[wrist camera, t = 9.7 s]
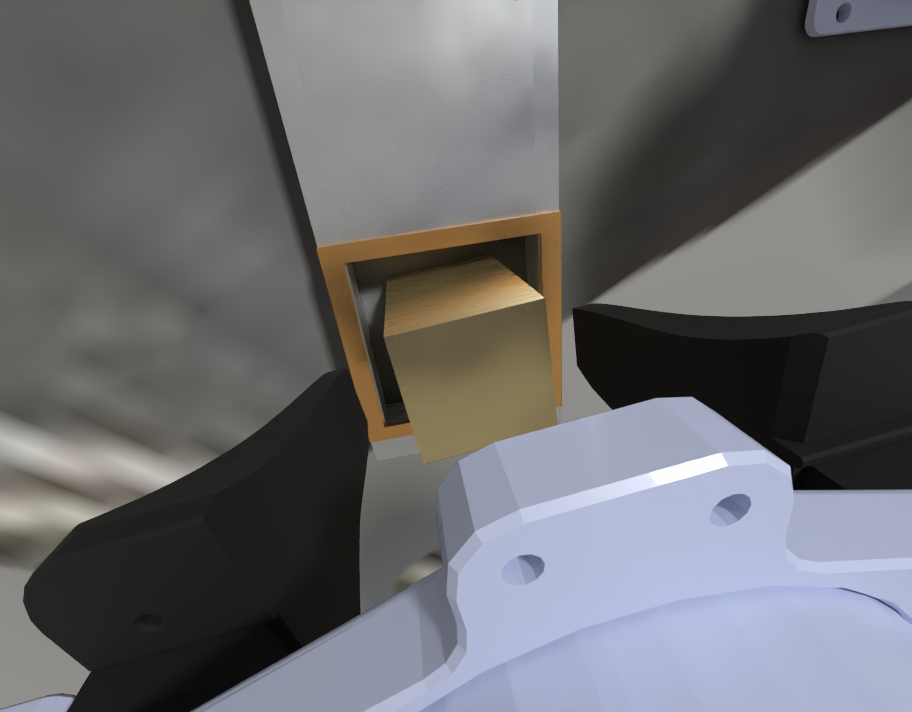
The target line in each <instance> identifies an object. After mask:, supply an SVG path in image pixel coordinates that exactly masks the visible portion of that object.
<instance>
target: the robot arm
mask: <svg viewBox="0 0 912 712" xmlns="http://www.w3.org/2000/svg"><path fill="white" fill-rule="evenodd" d="M837 11H839V16H838V19H837V20H836V13H837ZM905 26H912V0H809V5H808V10H807V14H806V19H805V30H806V33H807V34H808V35H809V36H811V37H821V36H829V35H838V34H846V33H855V32H863V31H872V30H880V29H888V28H897V27H905ZM573 321H574V333H575V345H576V356H577V366H578V367H579V369H580V371H581V372H582V374H583V375H584V377H585V378H586V380H587V381H588V383H589V384H590V385H591V387H592V388H593V389H594V390H595V391H596V393H597V394H598V395H599V396H600V397H601V398H602V399H603V400H604V401H605V402H606V403H607V405H608V406H609V407H610V408H612V410H611V411H607V412H604V413H600V414H596V415H593V416H589V417H585V418H582V419H578V420H574V421H571V422H567V423H563V424H560V425H556V426H552V427H549V428H545V429H541V430H538V431H534V432H530V433H527V434H523V435H519V436H516V437H512V438H508V439H505V440H501V441H497V442H494V443H492V444H490V445H488V446H486V447H484V448H482V449H480V450H478V451H476V452H475V453H473V454H471V455H469V456H467V457H465V458H463V459H461V460H459V461H458V462H457V463H456V465H455V466H454V467H453V469H452V470H451V471H450V473H449V474H448V475H447V477H446V478H445V480H444V481H443V482H442V483H441V485H440V486H439V487H438V491H437V525H438V533H439V540H440V548H441V556H442V564H443V567H442V568H440V569H439V570H437V571H435V572H433V573H432V574H430V575H428V576H426V577H425V578H423V579H421V580H419V581H418V582H416V583H414V584H412V585H411V586H409V587H407V588H405V589H404V590H402V591H400V592H398V593H397V594H395V595H393V596H391V597H390V598H388V599H386V600H384V601H383V602H381V603H379V604H378V605H376V606H374V607H372V608H370V609H369V610H367V611H365V612H363V613H362V614H360V573H359V538H360V512H361V503H362V496H363V489H364V481H365V473H366V465H367V457H368V448H369V445H368V421H367V418H366V416H365V413H364V411H363V408H362V406H361V403H360V401H359V398H358V395H357V393H356V390H355V388H354V385H353V383H352V380H351V378H350V375H349V372H348V370H347V368H343V369H339V370H335V371H331V372H328V373H326V374H324V375H323V376H321V377H320V378H319V379H318V380H316V381H315V382H314V383H313V384H312V385H311V386H310V387H309V388H307V389H306V390H305V391H304V392H303V393H302V394H301V395H300V396H299V397H298V398H296V399H295V400H294V401H293V402H292V403H291V404H290V405H289V406H287V407H286V408H285V409H284V410H283V411H282V412H280V413H279V414H278V415H277V416H276V417H274V418H273V419H272V420H271V421H270V422H268V423H267V424H266V425H265V426H263V427H262V428H261V429H260V430H258V431H257V432H255V433H254V434H253V435H251V436H250V437H248V438H247V439H246V440H244V441H243V442H241V443H240V444H238V445H237V446H235V447H234V448H232V449H231V450H229V451H227V452H226V453H224V454H222V455H221V456H219V457H217V458H216V459H214V460H212V461H211V462H209V463H207V464H206V465H204V466H202V467H201V468H199V469H197V470H195V471H194V472H192V473H190V474H188V475H186V476H184V477H182V478H180V479H178V480H177V481H175V482H173V483H171V484H169V485H166V486H164V487H162V488H160V489H158V490H156V491H154V492H152V493H150V494H148V495H146V496H144V497H141V498H139V499H137V500H135V501H132V502H130V503H128V504H125V505H123V506H121V507H118V508H116V509H114V510H111V511H109V512H107V513H104V514H102V515H100V516H97V517H95V518H92V519H90V520H87V521H85V522H82V523H80V524H79V525H77V526H76V527H75V528H74V529H73V530H72V531H71V532H70V533H69V534H68V535H67V536H66V537H65V538H64V539H63V541H62V542H61V543H60V544H59V545H58V546H57V547H56V548H55V549H54V550H53V552H52V553H51V554H50V555H49V556H48V557H47V558H46V559H45V560H44V561H43V563H42V564H41V565H40V566H39V567H38V568H37V569H36V570H35V571H34V572H33V574H32V575H31V577H30V579H29V580H28V582H27V584H26V585H25V587H24V598H23V602H24V605H25V608H26V610H27V613H28V615H29V618H30V620H31V621H32V622H33V624H34V625H35V626H36V627H37V628H38V629H39V630H40V631H41V632H42V633H43V634H44V635H45V636H47V637H48V638H49V639H51V640H52V641H53V642H54V643H55V644H57V645H58V646H59V647H60V648H61V649H63V650H64V651H65V652H66V653H68V654H69V655H70V656H72V657H73V658H74V659H75V660H76V661H78V662H79V663H80V664H81V665H83V666H84V667H85V668H86V669H87V670H89V671H91V673H90V674H89V676H88V677H87V679H86V681H85V682H84V684H83V686H82V687H81V689H80V691H79V692H78V694H77V695H76V696H75V695H71V694H63V693H60V694H52V695H47V696H44V697H40V698H37V699H33V700H30V701H26V702H23V703H19V704H16V705H12V706H9V707H5V708H2V709H0V712H912V301H901V302H894V303H887V304H880V305H873V306H866V307H859V308H852V309H845V310H838V311H830V312H819V313H807V314H797V315H780V316H753V317H721V316H697V315H685V314H675V313H665V312H657V311H650V310H643V309H637V308H630V307H623V306H617V305H608V304H588V305H584V306H580V307H577V308H573Z"/></svg>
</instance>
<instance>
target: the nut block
mask: <svg viewBox="0 0 912 712" xmlns="http://www.w3.org/2000/svg"><path fill="white" fill-rule="evenodd" d="M384 340H385V343H386V347H387V350H388V353H389V356H390V360H391V363H392V366H393V369H394V372H395V376H396V379H397V382H398V385H399V388H400V392H401V395H402V398H403V401H404V405H405V408H406V411H407V414H408V417H409V421H410V424H411V427H412V430H413V434H414V437H415V440H416V443H417V446H418V450H419V453H420V455H421V459H422V462H423V464H426V463H430V462H434V461H437V460H442V459H445V458H449V457H453V456H457V455H461V454H464V453H468V452H472V451H476V450H480V449H482V448H484V447H486V446H488V445H490V444H492V443H494V442H497V441H501V440H505V439H508V438H512V437H516V436H519V435H523V434H527V433H530V432H534V431H538V430H541V429H545V428H549V427H552V426H556V425H558V421H557V411H556V401H555V391H554V381H553V371H552V361H551V351H550V341H549V331H548V321H547V311H546V301H545V298H544V297H543V296H542V295H541V294H539V293H538V292H537V291H536V290H534V289H533V288H532V287H531V286H529V285H528V284H527V283H525V282H524V281H523V280H522V279H520V278H519V277H518V276H517V275H515V274H514V273H513V272H512V271H510V270H509V269H508V268H506V267H505V266H504V265H503V264H501V263H500V262H499V261H498V260H496V259H495V258H494V257H492V256H491V255H490V254H488V255H484V256H480V257H475V258H471V259H467V260H463V261H458V262H454V263H450V264H446V265H441V266H437V267H433V268H429V269H425V270H420V271H416V272H412V273H408V274H403V275H399V276H395V277H391V278H387V289H386V306H385V323H384Z"/></svg>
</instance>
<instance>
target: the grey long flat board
mask: <svg viewBox="0 0 912 712" xmlns="http://www.w3.org/2000/svg"><path fill="white" fill-rule="evenodd" d="M249 1H250V4H251V8H252V12H253V15H254V19H255V23H256V26H257V30H258V33H259V37H260V41H261V44H262V48H263V52H264V55H265V59H266V62H267V66H268V70H269V73H270V77H271V81H272V84H273V88H274V92H275V95H276V99H277V102H278V106H279V110H280V113H281V117H282V121H283V124H284V128H285V132H286V135H287V139H288V142H289V146H290V150H291V153H292V157H293V161H294V164H295V168H296V171H297V175H298V179H299V182H300V186H301V190H302V193H303V197H304V201H305V204H306V208H307V211H308V215H309V219H310V222H311V226H312V230H313V233H314V237H315V240H316V244H317V248H316V249H317V253H318V256H319V260H320V264H321V267H322V271H323V275H324V278H325V282H326V285H327V289H328V293H329V296H330V300H331V303H332V307H333V311H334V314H335V318H336V322H337V325H338V329H339V332H340V336H341V340H342V343H343V347H344V350H345V354H346V358H347V361H348V365H349V368H350V372H351V376H352V379H353V383H354V387H355V390H356V393H357V395H358V398H359V401H360V403H361V406H362V408H363V411H364V413H365V416H366V418H367V421H368V437H369V441H370V443H371V444H372V448H373V451H374V455H375V458H376V462H378V461H383V460H389V459H394V458H399V457H404V456H409V455H414V454H419V450H418V446H417V443H416V440H415V437H414V434H413V430H412V427H411V424H410V421H409V417H408V414H407V411H406V408H405V405H404V401H403V402H397V403H392V404H387V405H386V401H385V396H384V392H383V388H382V384H381V380H380V376H379V371H378V367H377V363H376V359H375V355H374V351H373V346H372V342H371V338H370V334H369V330H368V326H367V322H366V317H365V313H364V309H363V305H362V301H361V297H360V292H359V288H358V284H357V280H356V276H355V272H354V267H353V263H352V262H357V261H364V260H370V259H377V258H383V257H390V256H396V255H403V254H409V253H416V252H422V251H429V250H435V249H442V248H448V247H455V246H461V245H468V244H474V243H481V242H487V241H494V240H500V239H507V238H513V237H520V236H525V256H526V279H527V284H528V285H529V286H531V287H532V288H533V289H534V290H536V291H537V292H538V293H539V294H541V295H542V296H543V297H544V298H545V301H546V311H547V321H548V331H549V341H550V351H551V361H552V371H553V381H554V391H555V401H556V411H557V421H558V425H560V407H561V406H562V331H561V330H562V307H561V211H559V144H558V0H249Z"/></svg>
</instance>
